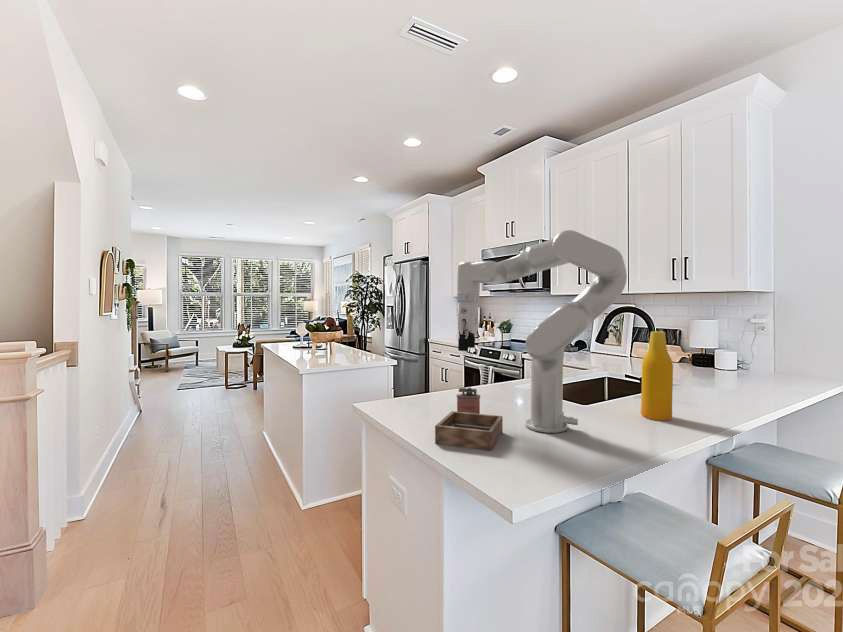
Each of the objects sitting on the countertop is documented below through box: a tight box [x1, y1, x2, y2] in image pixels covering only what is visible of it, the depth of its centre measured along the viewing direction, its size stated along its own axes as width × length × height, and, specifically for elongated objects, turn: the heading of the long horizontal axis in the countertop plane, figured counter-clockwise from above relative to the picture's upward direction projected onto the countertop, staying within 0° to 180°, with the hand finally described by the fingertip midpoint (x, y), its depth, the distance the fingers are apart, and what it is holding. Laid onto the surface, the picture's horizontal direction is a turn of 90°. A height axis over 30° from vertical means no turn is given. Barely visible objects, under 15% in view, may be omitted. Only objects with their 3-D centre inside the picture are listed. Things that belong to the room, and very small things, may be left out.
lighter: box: [456, 387, 481, 414], centre depth 143 cm, size 8×3×10 cm, turn 84°
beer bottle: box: [640, 331, 674, 422], centre depth 140 cm, size 9×9×29 cm
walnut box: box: [434, 410, 504, 452], centre depth 121 cm, size 16×16×5 cm
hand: (466, 349), depth 142 cm, fingers open, 9 cm apart
